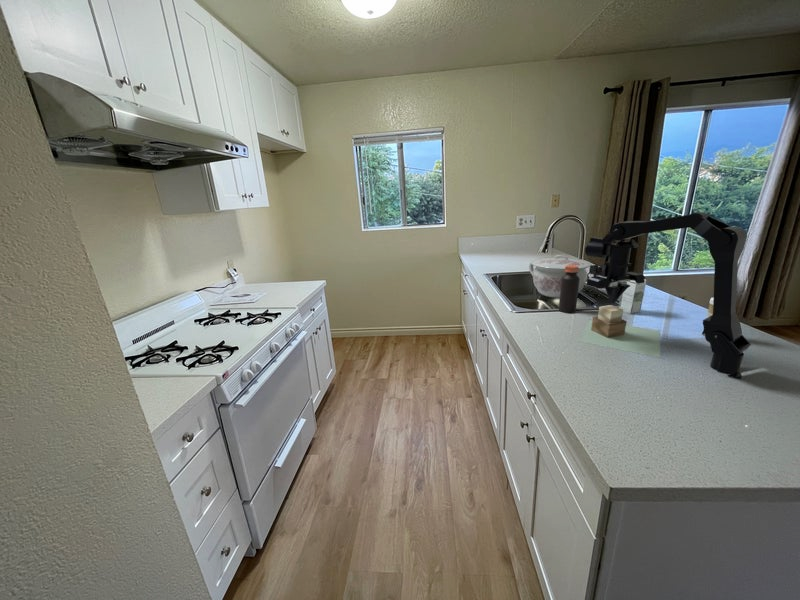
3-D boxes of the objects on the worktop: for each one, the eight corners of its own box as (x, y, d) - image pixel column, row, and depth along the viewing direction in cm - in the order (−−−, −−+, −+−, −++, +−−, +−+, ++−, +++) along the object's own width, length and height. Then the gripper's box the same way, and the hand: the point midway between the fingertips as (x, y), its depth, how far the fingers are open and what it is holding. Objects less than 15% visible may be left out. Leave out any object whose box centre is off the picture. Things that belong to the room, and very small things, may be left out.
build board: (659, 359, 97) (660, 357, 97) (578, 343, 110) (579, 341, 110) (659, 332, 115) (659, 330, 115) (589, 321, 128) (589, 319, 128)
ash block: (621, 322, 112) (623, 309, 111) (609, 324, 111) (611, 311, 110) (608, 317, 117) (610, 305, 115) (597, 319, 116) (599, 306, 114)
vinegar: (571, 314, 136) (577, 268, 130) (555, 310, 141) (560, 266, 135) (578, 310, 140) (583, 265, 134) (562, 307, 145) (567, 264, 139)
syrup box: (627, 308, 139) (632, 276, 135) (640, 312, 134) (647, 279, 129) (617, 310, 138) (622, 277, 133) (630, 314, 132) (636, 280, 128)
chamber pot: (597, 303, 147) (603, 259, 141) (534, 303, 152) (538, 260, 146) (576, 286, 174) (580, 249, 167) (523, 287, 179) (526, 250, 172)
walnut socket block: (624, 334, 113) (626, 321, 111) (607, 337, 111) (609, 323, 110) (607, 327, 119) (609, 314, 118) (591, 330, 118) (592, 317, 116)
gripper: (620, 253, 117) (614, 294, 121) (577, 258, 113) (572, 300, 117) (649, 258, 106) (641, 302, 111) (603, 264, 102) (596, 309, 107)
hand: (611, 303), depth 112 cm, fingers closed
